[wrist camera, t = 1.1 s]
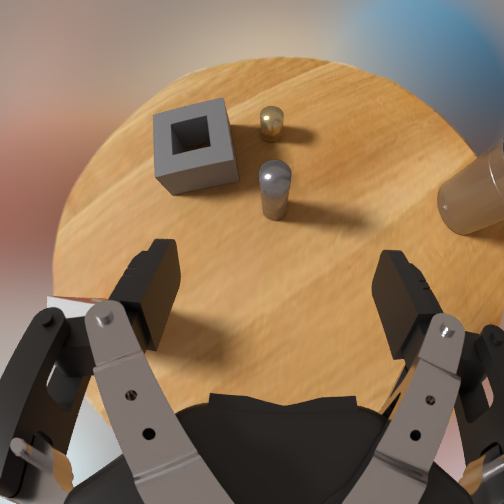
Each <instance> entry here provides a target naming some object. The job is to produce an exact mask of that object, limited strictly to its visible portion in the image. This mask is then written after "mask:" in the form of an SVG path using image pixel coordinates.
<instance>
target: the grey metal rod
mask: <svg viewBox="0 0 504 504" xmlns="http://www.w3.org/2000/svg"><path fill="white" fill-rule="evenodd" d="M259 182H260V190H261V199H262V208H263V213H264V215H265V217H266V218H268V219H269V220H273V221H277V220H280V219H281V218H283V217H284V215H285V213H286V208H287V202H288V195H289V189H290V182H291V170H290V168H289V166H288V165H287V164H286V163H285V162H283V161H280V160H269V161H267V162H265V163H264V164H263V165H262V166H261V168H260V170H259Z"/></svg>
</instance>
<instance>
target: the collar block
mask: <svg viewBox="0 0 504 504" xmlns="http://www.w3.org/2000/svg"><path fill="white" fill-rule="evenodd" d="M153 137H154V167H155V178H156V179H157V180H158V181H159V182H160V183H161V184H162V185H163V186H164V187H165V188H166V189H167V190H168V191H169V192H170V193H171V195H177V194H181V193H185V192H190V191H194V190H199V189H204V188H208V187H213V186H218V185H223V184H228V183H233V182H239V181H240V179H239V174H238V168H237V162H236V156H235V150H234V145H233V139H232V133H231V127H230V122H229V118H228V114H227V110H226V106H225V102H224V99H223V98H219V99H215V100H210V101H205V102H201V103H197V104H192V105H188V106H184V107H181V108H177V109H173V110H169V111H166V112H162V113H159V114H155V115H153ZM208 142H210V144H211V146H210V147H205V148H201V149H196V150H192V151H188V152H185V149H184V148H186V147H190V146H194V145H199V144H203V143H208Z"/></svg>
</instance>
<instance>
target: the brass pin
mask: <svg viewBox="0 0 504 504" xmlns="http://www.w3.org/2000/svg"><path fill="white" fill-rule="evenodd" d="M283 117H284V115H283V112H282V110H281V109H280V108H278V107H275V106H268V107H265V108H264V109H263V110H262V111H261V113H260V122H261V134H262V137H263V139H264V140H266V141H268V142H277V141H279V140H280V139H281V138H282V135H283Z"/></svg>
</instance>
